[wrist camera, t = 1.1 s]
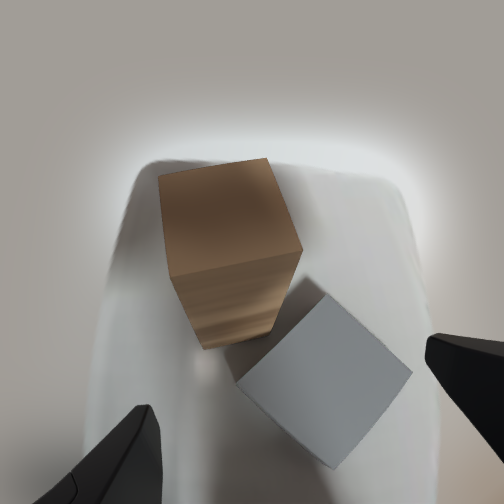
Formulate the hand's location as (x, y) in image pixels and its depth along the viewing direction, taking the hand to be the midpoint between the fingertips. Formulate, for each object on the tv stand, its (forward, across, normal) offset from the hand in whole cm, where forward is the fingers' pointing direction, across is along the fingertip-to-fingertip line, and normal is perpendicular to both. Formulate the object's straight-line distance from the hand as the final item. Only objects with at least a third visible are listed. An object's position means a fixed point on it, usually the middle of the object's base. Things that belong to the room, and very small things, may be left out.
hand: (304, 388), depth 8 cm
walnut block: (+15, +1, +3) cm, 16 cm away
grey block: (+11, -4, +9) cm, 15 cm away
